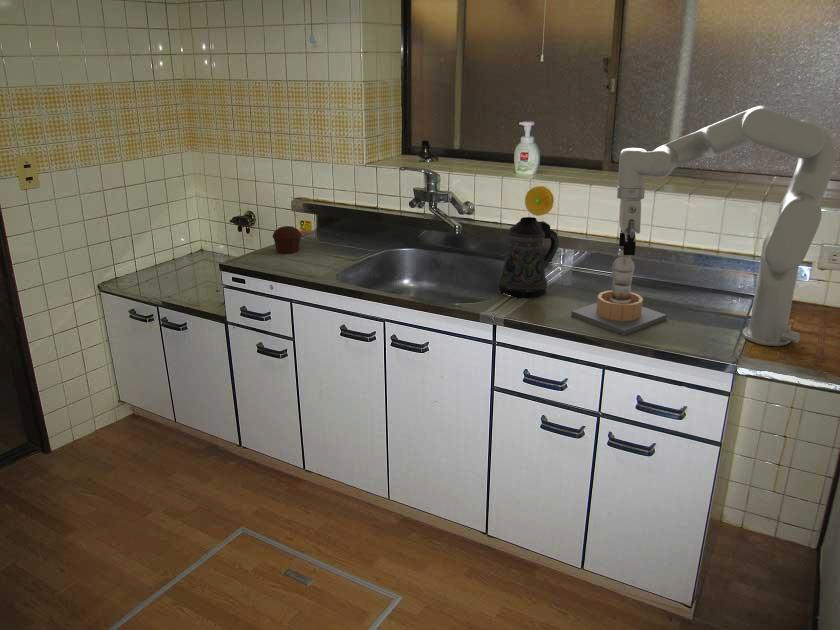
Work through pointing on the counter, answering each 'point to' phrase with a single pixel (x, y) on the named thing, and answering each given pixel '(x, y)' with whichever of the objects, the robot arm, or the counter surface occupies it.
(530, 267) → the beer stein
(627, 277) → the plastic bottle
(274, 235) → the muffin
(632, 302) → the duct base
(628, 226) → the robot arm
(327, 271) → the counter surface
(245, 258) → the counter surface
